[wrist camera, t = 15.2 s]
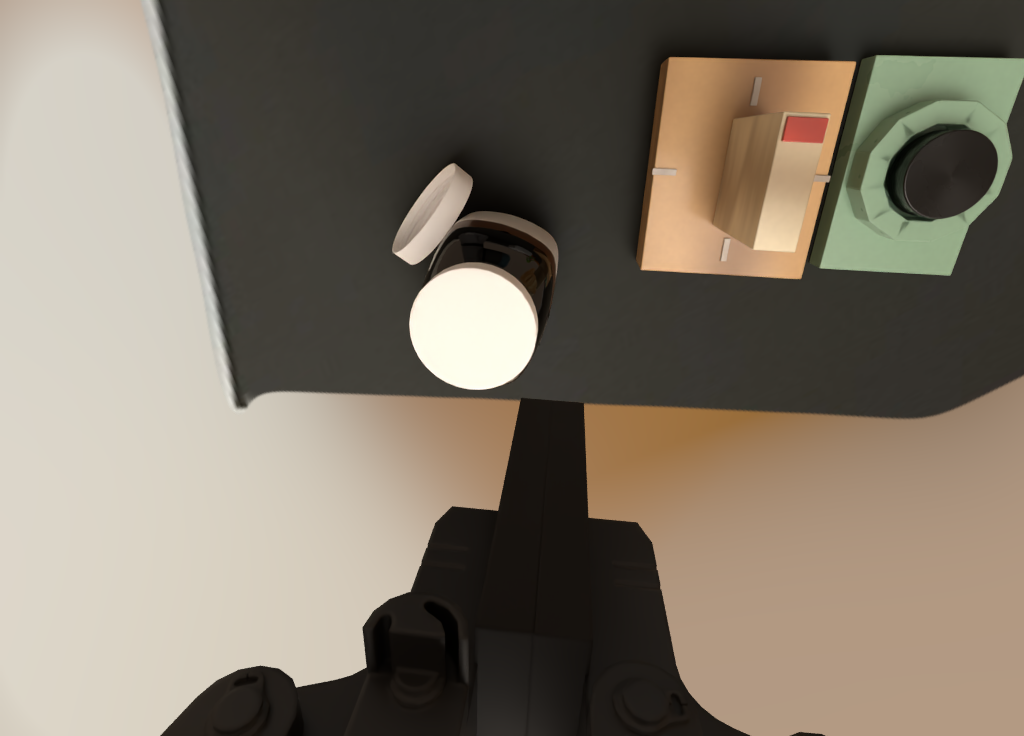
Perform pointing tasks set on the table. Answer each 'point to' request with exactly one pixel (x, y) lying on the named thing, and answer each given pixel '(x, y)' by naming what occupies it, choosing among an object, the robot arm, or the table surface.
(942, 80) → the button box
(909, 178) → the button
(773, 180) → the dial
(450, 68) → the table surface
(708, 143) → the dial panel
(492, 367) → the spread jar
